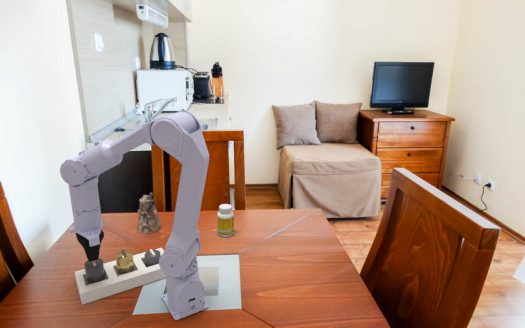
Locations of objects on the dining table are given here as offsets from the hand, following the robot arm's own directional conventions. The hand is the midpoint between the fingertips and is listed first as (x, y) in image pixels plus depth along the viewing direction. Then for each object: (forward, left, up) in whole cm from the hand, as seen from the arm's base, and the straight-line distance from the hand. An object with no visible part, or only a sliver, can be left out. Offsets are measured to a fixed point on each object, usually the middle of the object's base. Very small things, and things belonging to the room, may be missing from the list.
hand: (93, 259), depth 84 cm
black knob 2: (0, -14, -7) cm, 16 cm away
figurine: (+24, -20, -8) cm, 32 cm away
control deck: (0, -7, -8) cm, 11 cm away
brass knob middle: (0, -7, -5) cm, 9 cm away
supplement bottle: (+8, -40, -8) cm, 42 cm away
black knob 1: (0, 0, -5) cm, 5 cm away
